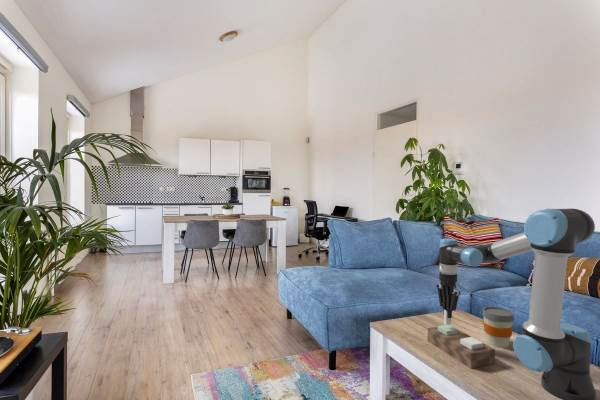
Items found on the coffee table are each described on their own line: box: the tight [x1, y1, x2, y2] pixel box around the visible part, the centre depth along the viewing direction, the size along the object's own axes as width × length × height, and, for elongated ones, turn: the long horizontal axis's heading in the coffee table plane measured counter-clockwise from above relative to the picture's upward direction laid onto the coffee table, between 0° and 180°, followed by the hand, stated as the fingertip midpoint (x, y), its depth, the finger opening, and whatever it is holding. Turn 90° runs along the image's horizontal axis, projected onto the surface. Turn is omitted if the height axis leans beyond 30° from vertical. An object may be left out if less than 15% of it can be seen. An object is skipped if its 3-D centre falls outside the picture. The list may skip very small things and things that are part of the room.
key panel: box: [427, 326, 496, 370], centre depth 148 cm, size 26×12×6 cm, turn 18°
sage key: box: [437, 324, 459, 335], centre depth 155 cm, size 6×6×5 cm
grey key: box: [460, 336, 484, 350], centre depth 141 cm, size 6×6×5 cm
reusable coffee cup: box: [482, 306, 515, 349], centre depth 156 cm, size 13×13×15 cm
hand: (447, 323), depth 155 cm, fingers closed
